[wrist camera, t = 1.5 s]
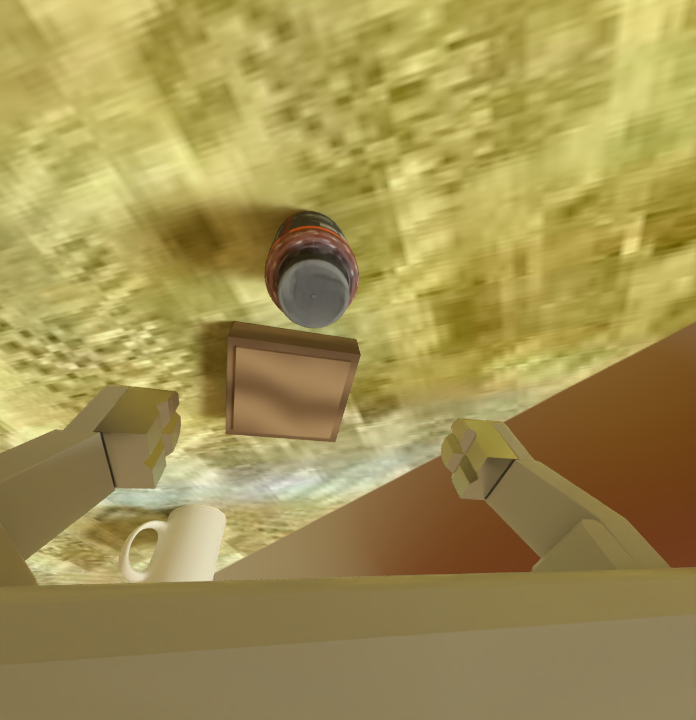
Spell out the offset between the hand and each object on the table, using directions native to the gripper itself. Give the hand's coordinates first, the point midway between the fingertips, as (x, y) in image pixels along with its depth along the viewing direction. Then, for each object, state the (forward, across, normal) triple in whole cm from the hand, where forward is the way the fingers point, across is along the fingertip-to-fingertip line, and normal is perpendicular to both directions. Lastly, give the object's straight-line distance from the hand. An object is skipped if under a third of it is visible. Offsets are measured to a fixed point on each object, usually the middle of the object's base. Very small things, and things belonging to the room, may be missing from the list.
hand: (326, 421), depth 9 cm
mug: (+22, +12, +40) cm, 47 cm away
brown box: (+21, 0, +13) cm, 25 cm away
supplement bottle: (+21, 0, -1) cm, 21 cm away
